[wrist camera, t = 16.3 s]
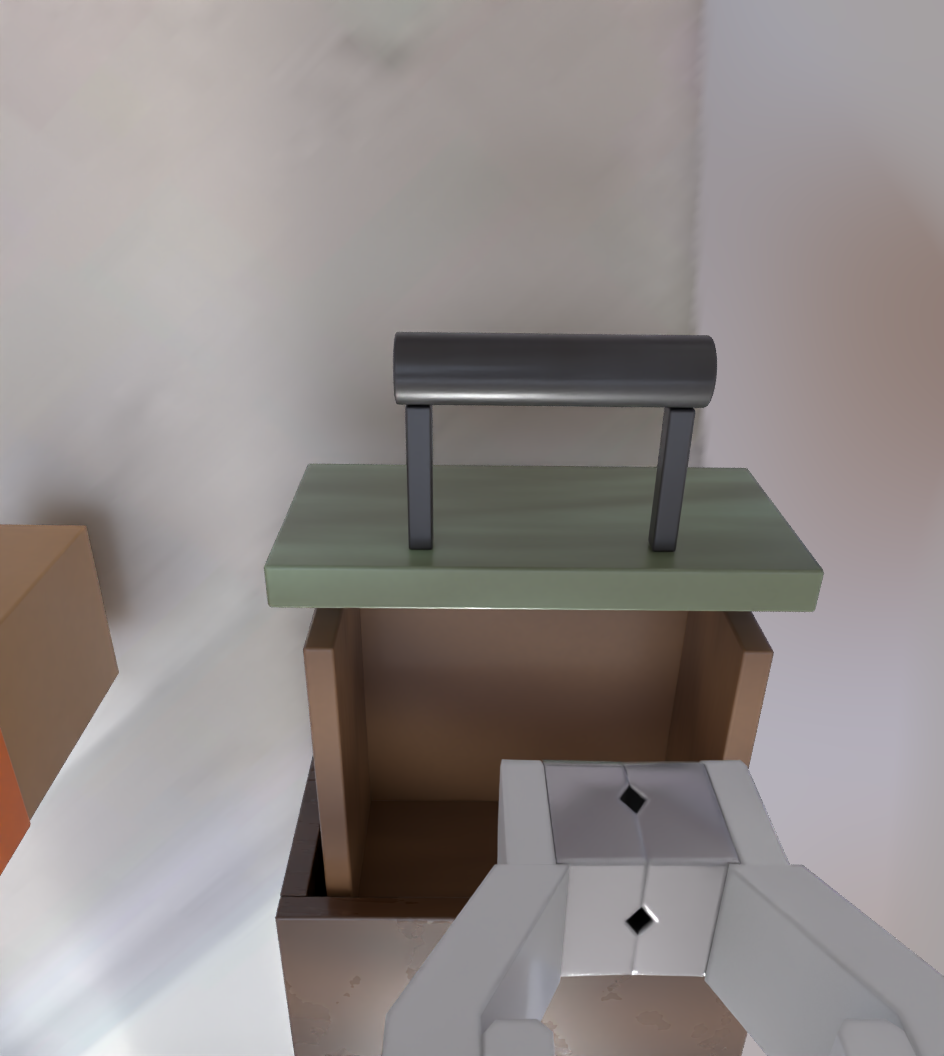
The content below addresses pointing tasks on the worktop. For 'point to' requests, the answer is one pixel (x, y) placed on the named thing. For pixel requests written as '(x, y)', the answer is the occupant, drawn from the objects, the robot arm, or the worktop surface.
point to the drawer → (522, 604)
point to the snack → (46, 663)
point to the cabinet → (408, 939)
